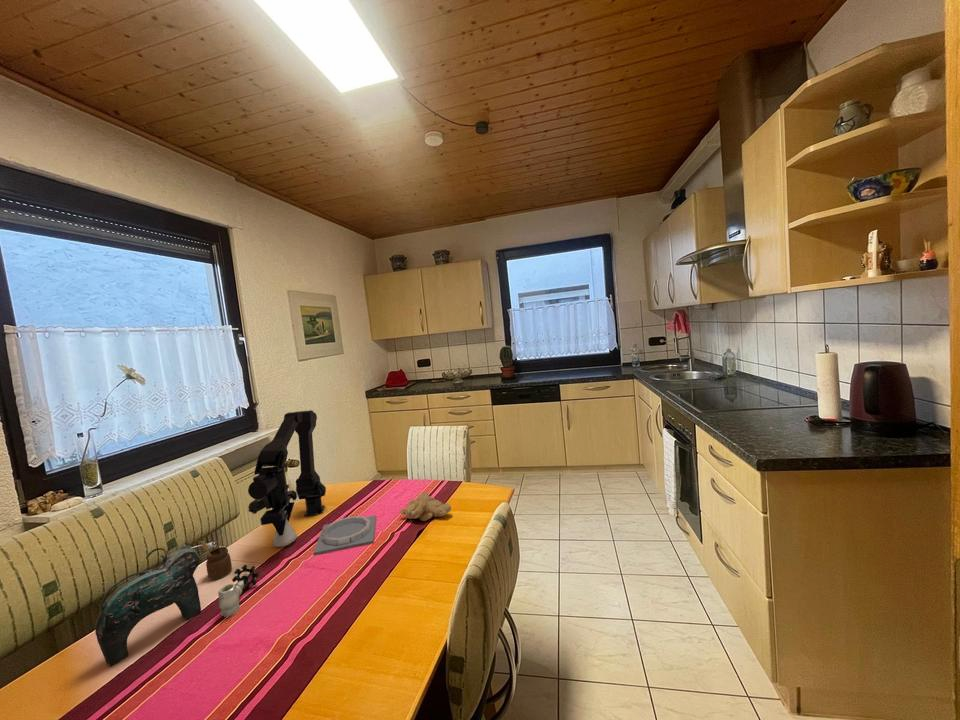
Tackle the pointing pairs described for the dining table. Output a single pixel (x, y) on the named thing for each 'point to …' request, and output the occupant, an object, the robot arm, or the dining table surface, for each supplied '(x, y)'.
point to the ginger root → (425, 508)
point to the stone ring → (347, 539)
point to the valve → (235, 591)
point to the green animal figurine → (147, 600)
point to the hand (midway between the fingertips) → (283, 531)
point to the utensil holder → (218, 562)
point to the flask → (284, 536)
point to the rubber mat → (344, 532)
